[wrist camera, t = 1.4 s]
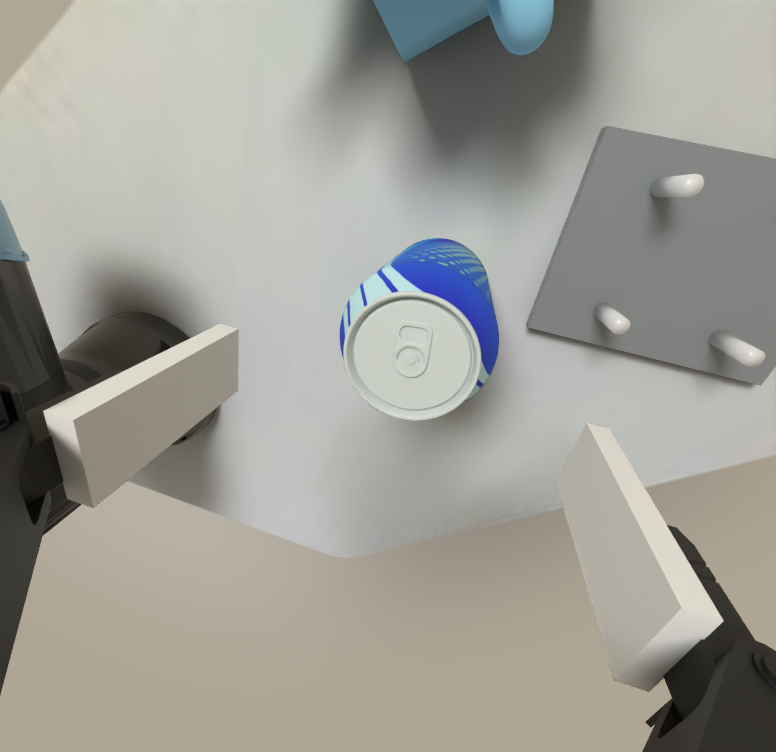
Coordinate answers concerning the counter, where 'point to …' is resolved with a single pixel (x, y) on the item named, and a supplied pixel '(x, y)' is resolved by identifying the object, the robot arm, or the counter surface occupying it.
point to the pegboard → (669, 256)
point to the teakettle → (465, 22)
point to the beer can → (421, 331)
